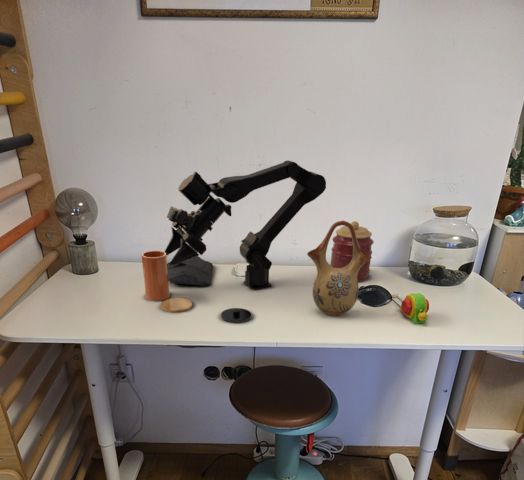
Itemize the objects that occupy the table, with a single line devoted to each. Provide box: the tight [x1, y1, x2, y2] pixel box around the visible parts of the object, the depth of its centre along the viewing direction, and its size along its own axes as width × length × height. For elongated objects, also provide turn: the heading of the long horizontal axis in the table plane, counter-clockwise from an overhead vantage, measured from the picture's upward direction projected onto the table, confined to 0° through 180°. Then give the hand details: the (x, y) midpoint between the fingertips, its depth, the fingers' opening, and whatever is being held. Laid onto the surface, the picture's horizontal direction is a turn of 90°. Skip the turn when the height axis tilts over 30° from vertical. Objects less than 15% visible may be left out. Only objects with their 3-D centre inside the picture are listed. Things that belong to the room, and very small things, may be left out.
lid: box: [220, 307, 252, 324], centre depth 123 cm, size 8×8×2 cm
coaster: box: [160, 297, 193, 313], centre depth 129 cm, size 8×8×1 cm
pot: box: [141, 250, 171, 302], centre depth 131 cm, size 7×7×12 cm
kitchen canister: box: [329, 220, 375, 282], centre depth 149 cm, size 13×13×18 cm
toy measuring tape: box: [390, 292, 430, 324], centre depth 128 cm, size 6×20×7 cm, turn 9°
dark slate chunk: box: [167, 256, 214, 287], centre depth 149 cm, size 15×22×5 cm
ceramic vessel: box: [306, 220, 372, 317], centre depth 121 cm, size 16×9×25 cm, turn 85°
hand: (168, 258), depth 130 cm, fingers open, 9 cm apart
